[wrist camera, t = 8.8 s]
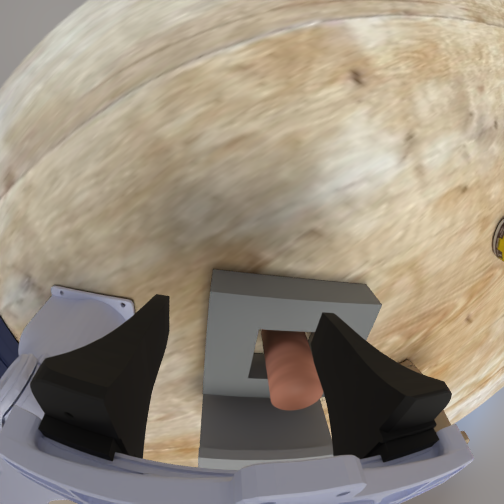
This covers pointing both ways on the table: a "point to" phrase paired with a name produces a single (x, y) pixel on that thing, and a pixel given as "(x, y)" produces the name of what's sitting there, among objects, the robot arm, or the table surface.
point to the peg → (290, 370)
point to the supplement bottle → (499, 241)
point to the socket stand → (254, 367)
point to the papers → (7, 348)
